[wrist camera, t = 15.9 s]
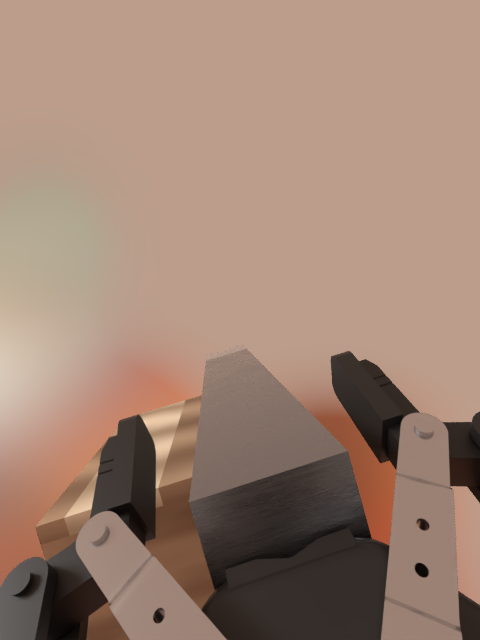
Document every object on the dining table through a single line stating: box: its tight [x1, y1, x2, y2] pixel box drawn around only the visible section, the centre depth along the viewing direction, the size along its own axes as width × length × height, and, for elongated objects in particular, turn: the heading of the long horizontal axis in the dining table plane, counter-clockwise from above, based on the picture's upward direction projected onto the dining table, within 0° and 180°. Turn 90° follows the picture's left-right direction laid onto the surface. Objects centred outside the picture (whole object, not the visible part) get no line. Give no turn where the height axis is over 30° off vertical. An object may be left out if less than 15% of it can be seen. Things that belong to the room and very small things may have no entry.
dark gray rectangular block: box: [189, 345, 372, 590], centre depth 22 cm, size 28×4×4 cm, turn 5°
